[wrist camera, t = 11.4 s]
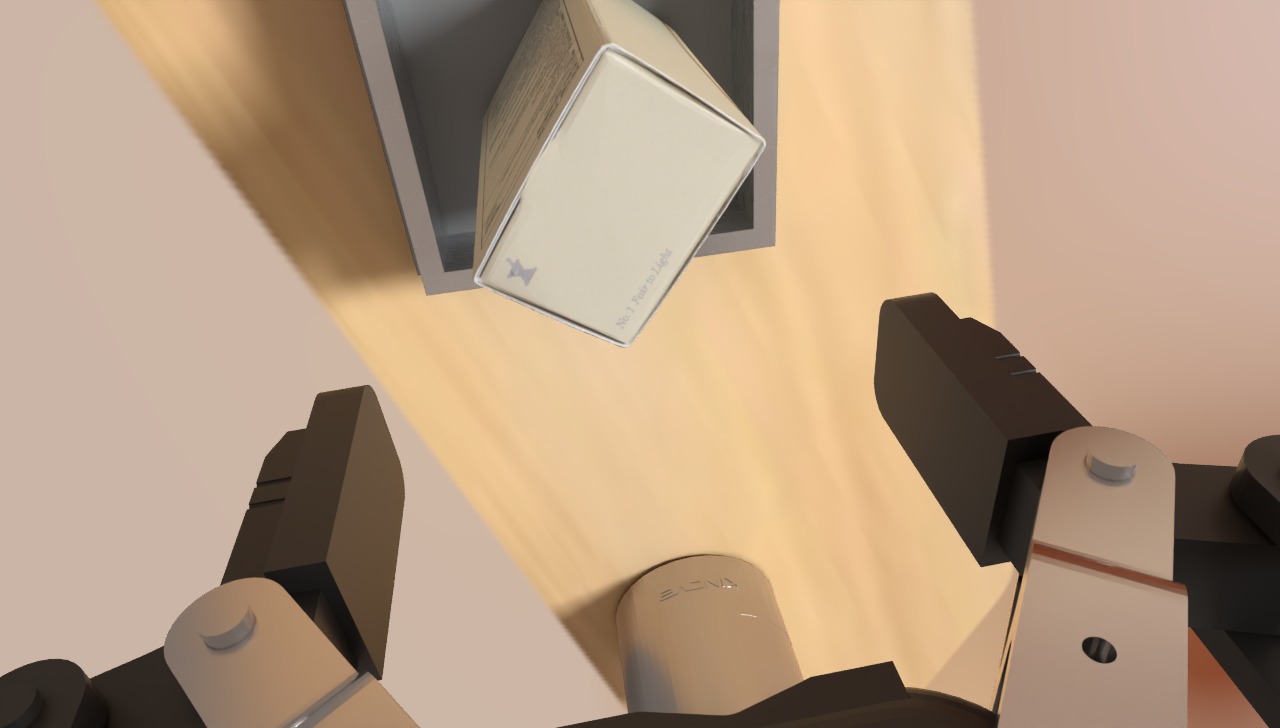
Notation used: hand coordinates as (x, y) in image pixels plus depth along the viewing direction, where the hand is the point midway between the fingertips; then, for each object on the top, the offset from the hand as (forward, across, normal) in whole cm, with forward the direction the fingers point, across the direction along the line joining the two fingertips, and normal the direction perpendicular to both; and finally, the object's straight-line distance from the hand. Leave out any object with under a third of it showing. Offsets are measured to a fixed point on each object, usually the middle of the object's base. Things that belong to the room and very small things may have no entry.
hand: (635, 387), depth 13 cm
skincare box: (+18, -1, 0) cm, 19 cm away
